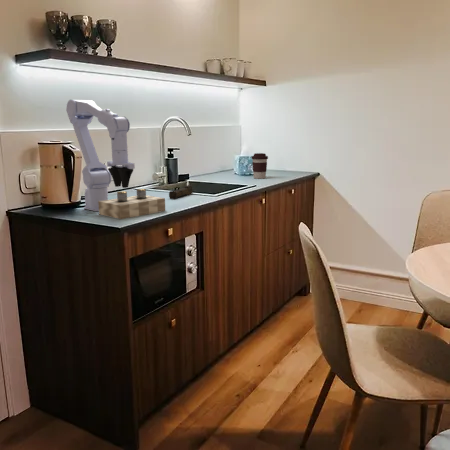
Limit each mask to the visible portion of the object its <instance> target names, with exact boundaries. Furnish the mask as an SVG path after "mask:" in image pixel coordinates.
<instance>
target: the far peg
mask: <svg viewBox="0 0 450 450" xmlns="http://www.w3.org/2000/svg"><path fill="white" fill-rule="evenodd" d="M135 192H136V196H137V199H140V200H141V199H146V195H147V189H146V188H137V189H136V191H135Z"/></svg>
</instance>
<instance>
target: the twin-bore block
mask: <svg viewBox="0 0 450 450" xmlns="http://www.w3.org/2000/svg"><path fill="white" fill-rule="evenodd" d="M98 205H99V211H98V214H99V215H100V216H106V217H110V218H115V219H119V220H123V219H130V218H135V217H139V216H145V215H151V214H156V213H161V212H166V199H165V198H164V197H158V196H152V195H147V194H146V199H141V200H140V199H137V195H133V196H132V195H131V196H127V202H122V203H121V202H118V200H117V198H113V199H108V200H103V201H98Z"/></svg>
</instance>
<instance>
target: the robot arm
mask: <svg viewBox="0 0 450 450" xmlns="http://www.w3.org/2000/svg"><path fill="white" fill-rule="evenodd" d="M66 113H67V117H68V119H69V123H70V124H71V125H72V128H73V130H74V134H75V136H76V139H77V141H78V144H79V148H80V151H81V153H82V157H83V160H84V162H85V166H84V168H83V169H82V170H81V173H82V180H83V183H84V185H85V186H86V189H85V191H84V203H85V206H84V207H83V209H84V210H90V211H92V212H99V205H98V201H103V200H109V194H108V193H109V191H108V188H109V187H110V185H111V182H112V181H113V184H114V187H115V188H116V187H117V188H119V187H122V188H123V189H126V188H129V186H130V185H129V184H130V180H131V178H132V177H131V176H132V174H133V172H134V169H135V163H134V162H129V153H128V152H129V151H128V150H129V149H128V135H127V133H128V132H129V130H130V128H131V126H130V125H131V124H130V120H129V119H128V118H127V117H126V116H120V115H118V113H114V112H113V111H112V110H111V109H110V108H103V109H102V108H101V107H100V106H98V105H97V103H96V102H95V101H93V100H92V99H69V100H68V101H67V104H66ZM94 117H95V118H97V121H98V123H100V124H101V125H103V126H105V127H106V129H107V131H108V135H109V137H110V141H111V142H110V143H111V160H110V161H106V164H105V163H102V162H101V161H100V159H99V157H98V156H99V155H98V154H97V151H96V148H95V146H94V141H93V139H92V135H91V133H90V130H89V127H88V125H89V124H91V122H92V121H93V118H94Z"/></svg>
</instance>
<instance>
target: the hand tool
mask: <svg viewBox="0 0 450 450" xmlns="http://www.w3.org/2000/svg"><path fill="white" fill-rule="evenodd" d="M191 193H192V194H193V186H192V184H187V185H184V186H183V188H180V189H175V190H171V191H170V190H169V193H168V198H169V199H170V200H176V199H178V198H179V197H183V196H190V195H191Z"/></svg>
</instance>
